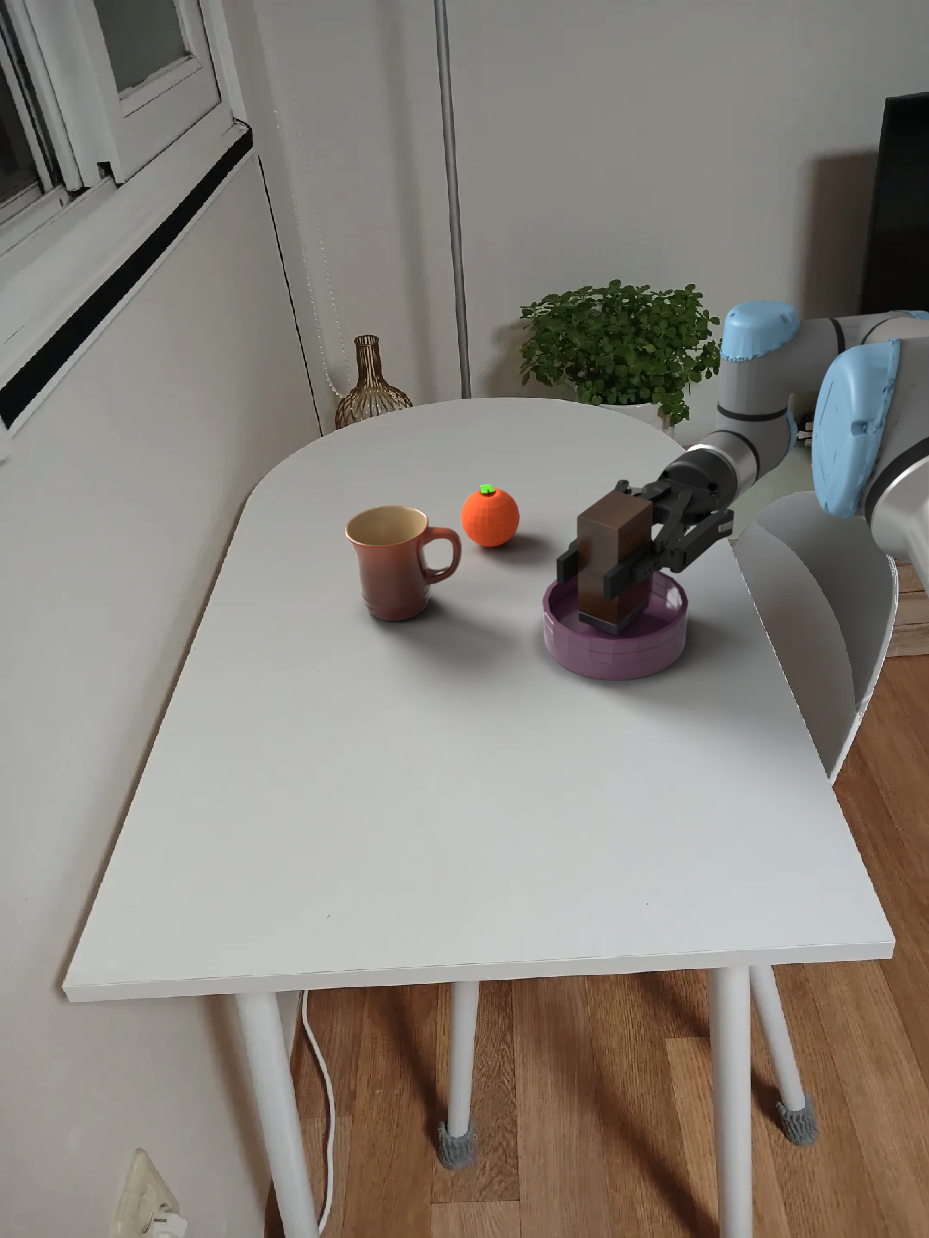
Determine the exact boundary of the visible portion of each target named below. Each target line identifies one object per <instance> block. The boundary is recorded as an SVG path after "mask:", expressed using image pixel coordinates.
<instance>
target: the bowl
mask: <svg viewBox="0 0 929 1238" xmlns="http://www.w3.org/2000/svg"><path fill="white" fill-rule="evenodd" d="M541 603H542V621H543V639H544V640H543V641H544V645H545V648H546V650H547V652H548V654H549V655H550V656H551V657H552V658H553V660H554V661H555V662H557V663H558V664H559V665H560V666H562V667H563V668H565V669H566V670H568V671H571V672H573V673H574V674H577V675H581V676H584V677H587V678H590V679H591V678H592V679H596V680H603V681H627V680H629V681H630V680H636V679H641V678H645V677H647V676H652V675H654V674H656V673H659V672H661V671H663V670H665V669H667V668H668V667H669V666H671V665H672V664H673V663H674V662H676V661H677V660H678V659H679V658H680V656H681V654H682V653H683V651H684V650H685V649H684V648H685V645H686V637H687V625H688V615H689V604H690V603H689V599H688V596H687V594H686V590H685V589H684V587H683V586H682V585H681V584H680V583H679V582H678V581H677V580H675V578H673V577H672V576H671V575H668V574H667V573H664V572H663V571H662V570H659V571H655V572H653V573H652V574H651V575H650V590H649V607H648V608H647V609H646V610H644V611H643V612H642V613H641V614H640V615H639V616H638V617H637V618H636V619H635V620H633V621H632V622H631V623H630V624H629V625H628V626H627V627H626V628H625V629H624V630H622V631H621V632H620V633H619V634H618V635H617V636H616V635H614V634H611V633H608V632H606V631H603V630H601V629H598V628H596V627H593V626H590V625H588V624H585V623H583V622H580V621H579V604H578V574H577V575H576V576H574V577H573V578H572V579H571V580H570V581H568V582H567V583H566V584H565V585H561V584H559V583H557V578H555V579H554V580H553V581H552V582H551V583H550V584H549V585H548V586H547V587H546V589H545V592H544V595H543V597H542V600H541Z"/></svg>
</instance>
